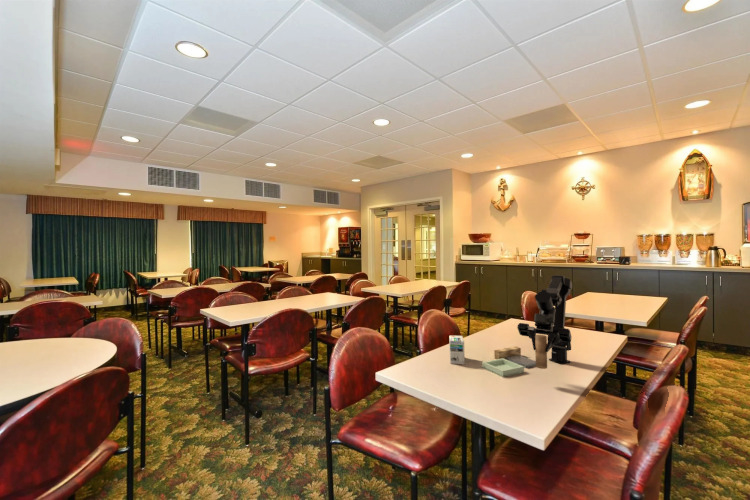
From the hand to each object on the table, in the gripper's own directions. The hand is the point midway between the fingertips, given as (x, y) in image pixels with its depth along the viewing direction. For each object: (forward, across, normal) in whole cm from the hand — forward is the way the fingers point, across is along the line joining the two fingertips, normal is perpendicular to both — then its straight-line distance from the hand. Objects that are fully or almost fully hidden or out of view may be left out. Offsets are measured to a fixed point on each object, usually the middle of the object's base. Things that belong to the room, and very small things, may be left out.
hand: (540, 350), depth 126 cm
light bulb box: (+4, -38, +15) cm, 41 cm away
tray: (+4, -17, +15) cm, 23 cm away
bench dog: (-9, -21, +28) cm, 36 cm away
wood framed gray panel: (-6, -13, +26) cm, 30 cm away
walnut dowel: (+4, 0, +6) cm, 7 cm away
